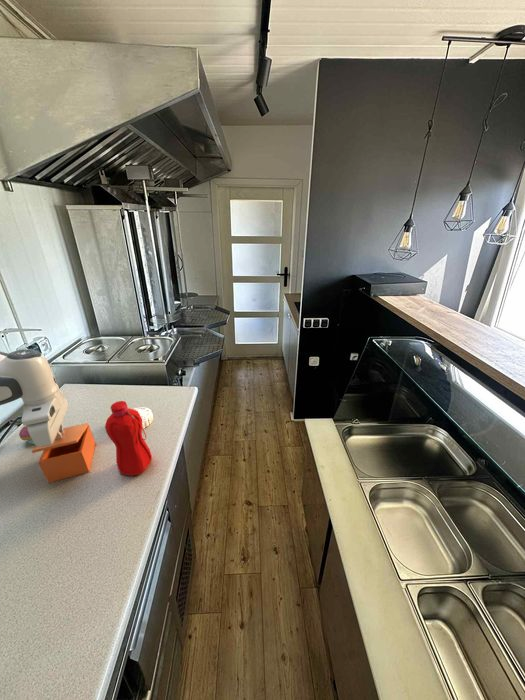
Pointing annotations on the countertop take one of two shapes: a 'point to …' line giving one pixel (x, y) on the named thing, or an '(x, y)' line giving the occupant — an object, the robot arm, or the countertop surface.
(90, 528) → the countertop surface
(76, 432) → the box lid
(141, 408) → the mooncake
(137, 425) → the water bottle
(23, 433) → the cupcake
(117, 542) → the countertop surface
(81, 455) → the box
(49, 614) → the countertop surface
